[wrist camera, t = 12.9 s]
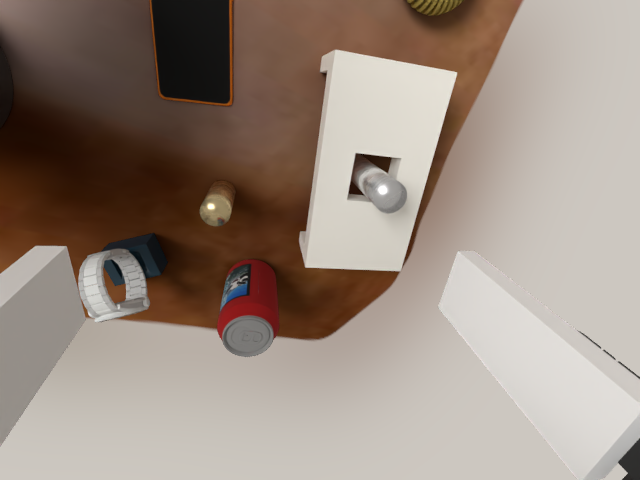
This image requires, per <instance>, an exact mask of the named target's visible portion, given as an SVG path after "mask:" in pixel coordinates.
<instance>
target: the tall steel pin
mask: <svg viewBox="0 0 640 480" xmlns="http://www.w3.org/2000/svg"><path fill="white" fill-rule="evenodd" d="M351 181H352V182H353V183H354V184H355V185H356V186H357V187H358V188H359V189H360V190H361V191H362V192H363V194H364V195H365V196H366V197H367V198H368V199H369V200H370V201H371V202H372V203H373V204H374V205H375V206H376V207H377V208H378V209H379V210H380V211H381V212H383V213H394V212H396V211H398V210H400V209H401V208H402V207H403V206H404V204H405V202H406V200H407V190H406V188H405V186H404V185H403V184H402V183H400V182H399V181H397V180H396V179H394V178H393V177H392V176H390V175H389V174H387V173H386V172H384V171H383V170H382V169H380V168H379V167H377V166H376V165H375V164H373V163H372V162H370V161H369V160H367V159H366V158H365V157H363V156H362V155H360V154H358V153H355V159H354V164H353V170H352V175H351Z"/></svg>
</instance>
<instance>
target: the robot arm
mask: <svg viewBox="0 0 640 480" xmlns="http://www.w3.org/2000/svg"><path fill="white" fill-rule="evenodd" d="M12 102H13V82H12V76H11V72H10V68H9V65H8V62H7V60H6V57H5V55H4V53H3V51H2V49H1V47H0V128H1V127H2V125H3V124H4V123H5V121H6V120H7V118H8V116H9V113H10V110H11V107H12ZM438 308H439V309H440V311H441V312H442V313H443V315H444V316H445V317H446V318H447V320H448V321H449V322H450V323H451V324H452V326H453V327H454V328H455V329H456V331H457V332H458V333H459V334H460V335H461V337H462V338H463V339H464V340H465V342H466V343H467V344H468V345H469V346H470V348H471V349H472V350H473V352H474V353H475V354H476V355H477V356H478V358H479V359H480V360H481V361H482V363H483V364H484V365H485V366H486V368H487V369H488V370H489V371H490V372H491V374H492V375H493V376H494V377H495V379H496V380H497V381H498V382H499V384H500V385H501V386H502V387H503V389H504V390H505V391H506V392H507V393H508V394H509V396H510V397H511V398H512V400H513V401H514V402H515V403H516V405H517V406H518V407H519V408H520V409H521V411H522V412H523V413H524V414H525V416H526V417H527V418H528V419H529V421H530V422H531V423H532V424H533V426H534V427H535V428H536V429H537V430H538V432H539V433H540V434H541V435H542V437H543V438H544V439H545V440H546V441H547V442H548V444H549V445H550V447H551V448H552V449H553V450H554V451H555V453H556V454H557V455H558V456H559V458H560V459H561V460H562V461H563V463H564V464H565V465H566V466H567V467H568V469H569V470H570V471H571V472H572V474H573V475H574V476H575V477H576V479H577V480H597V479H602V478H605V477H606V476H607V475H608V474H609V472H610V471H611V470H612V469H613V468H614V467H615V466H616V465H617V464H618V463H619V464H620V465H621V466H622V467H623V468H624V469H625V470H626V471H627V472H628V474H627V475H626V476H625V477H624V478H623V479H622V480H640V377H639V376H637V375H636V374H635V373H634V372H632V371H631V370H630V369H628V368H627V367H626V366H624V365H623V364H622V363H621V362H617V361H616V360H615V358H614V357H613V356H612V355H610V354H609V353H608V352H606V351H605V350H601V347H600V346H599V345H597V344H596V343H595V342H593V341H592V340H591V339H590V338H588V337H587V336H586V335H584V334H583V333H581V332H579V331H577V330H576V329H574V328H573V327H572V326H570V325H569V324H568V323H567V322H565V321H564V320H563V319H562V318H560V317H559V316H558V315H556V314H555V313H554V312H553V311H551V310H550V309H549V308H547V307H546V306H545V305H544V304H542V303H541V302H540V301H538V300H537V299H536V298H535V297H533V296H532V295H531V294H529V293H528V292H527V291H526V290H524V289H523V288H522V287H520V286H519V285H518V284H517V283H515V282H514V281H513V280H511V279H510V278H509V277H508V276H506V275H505V274H504V273H502V272H501V271H500V270H498V269H497V268H496V267H495V266H494V265H492V264H491V263H490V262H488V261H487V260H486V259H484V258H483V257H482V256H480V255H479V254H478V253H477V252H475V251H458V252H457V255H456V258H455V261H454V264H453V266H452V269H451V272H450V275H449V278H448V281H447V283H446V286H445V289H444V292H443V295H442V298H441V301H440V303H439V306H438ZM85 320H86V318H85V314H84V310H83V307H82V303H81V299H80V295H79V292H78V288H77V284H76V280H75V276H74V273H73V269H72V265H71V261H70V258H69V254H68V250H67V246H35V247H34V248H32V249H31V250H30V251H29V252H27V253H26V254H25V255H24V256H22V257H21V258H20V259H19V260H17V261H16V262H15V263H14V264H12V265H11V266H10V267H8V268H7V269H6V270H5V271H3V272H2V273H1V274H0V446H1V445H2V443H3V442H4V440H5V439H6V437H7V436H8V434H9V433H10V431H11V430H12V428H13V427H14V425H15V424H16V422H17V421H18V419H19V418H20V417H21V415H22V414H23V412H24V411H25V409H26V408H27V406H28V405H29V403H30V402H31V400H32V399H33V397H34V396H35V394H36V393H37V391H38V390H39V388H40V386H41V385H42V384H43V382H44V381H45V380H46V378H47V377H48V375H49V374H50V372H51V371H52V369H53V368H54V366H55V365H56V363H57V361H58V360H59V359H60V357H61V356H62V354H63V353H64V351H65V350H66V348H67V347H68V345H69V344H70V342H71V341H72V339H73V338H74V337H75V335H76V334H77V332H78V331H79V329H80V328H81V326H82V325H83V323H84V322H85Z"/></svg>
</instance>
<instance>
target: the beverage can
mask: <svg viewBox="0 0 640 480" xmlns="http://www.w3.org/2000/svg"><path fill="white" fill-rule="evenodd" d="M217 330H218V334H219V336H220V338H221V339H222V341H223V344H224V346H225V347H226V349H227V350H228V351H230V352H231V353H233V354H235V355H238V356H244V357H250V356H255V355H258V354H261V353H263V352H264V351H266V350H267V349H268V348H269V347H270V345H271V344H272V342H273V340H274V338H275V337H276V335H277V333H278V331H279V310H278V296H277V284H276V276H275V273H274V271H273V269H272V268H271V267H270V266H269V265H268V264H266V263H265V262H263V261H260V260H255V259H248V260H243V261H240V262H238V263H236V264H235V265H234V266H233V267H232V268H231V269H230V270H229V272H228V274H227V277H226V282H225V287H224V292H223V297H222V302H221V307H220V313H219V319H218V325H217Z"/></svg>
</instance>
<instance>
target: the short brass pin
mask: <svg viewBox="0 0 640 480" xmlns="http://www.w3.org/2000/svg"><path fill="white" fill-rule="evenodd" d="M235 195H236V191H235V188H234V186H233V185H232V184H231V183H230V182H228V181H225V180H218V181H216V182H214V183H213V184H212V186H211V187H210V189H209V191H208V193H207V195H206V197H205V199H204V201H203V203H202V205H201V207H200V216H201V218H202V219H203V221H204V222H206V223H207V224H209V225H211V226H221V225H223V224H225V223H226V222H227V221H228V220H229V218H230V215H231V211H232V207H233V203H234V199H235Z"/></svg>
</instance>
